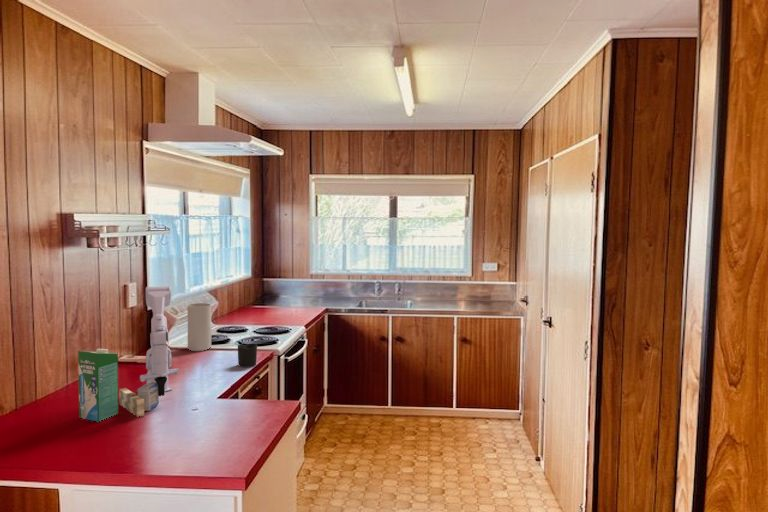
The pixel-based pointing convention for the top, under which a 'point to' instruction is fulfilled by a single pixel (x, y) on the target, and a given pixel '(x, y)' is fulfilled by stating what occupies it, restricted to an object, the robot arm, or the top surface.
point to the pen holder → (247, 354)
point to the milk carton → (98, 384)
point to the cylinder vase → (199, 326)
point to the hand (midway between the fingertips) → (160, 395)
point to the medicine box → (149, 395)
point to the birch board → (131, 402)
